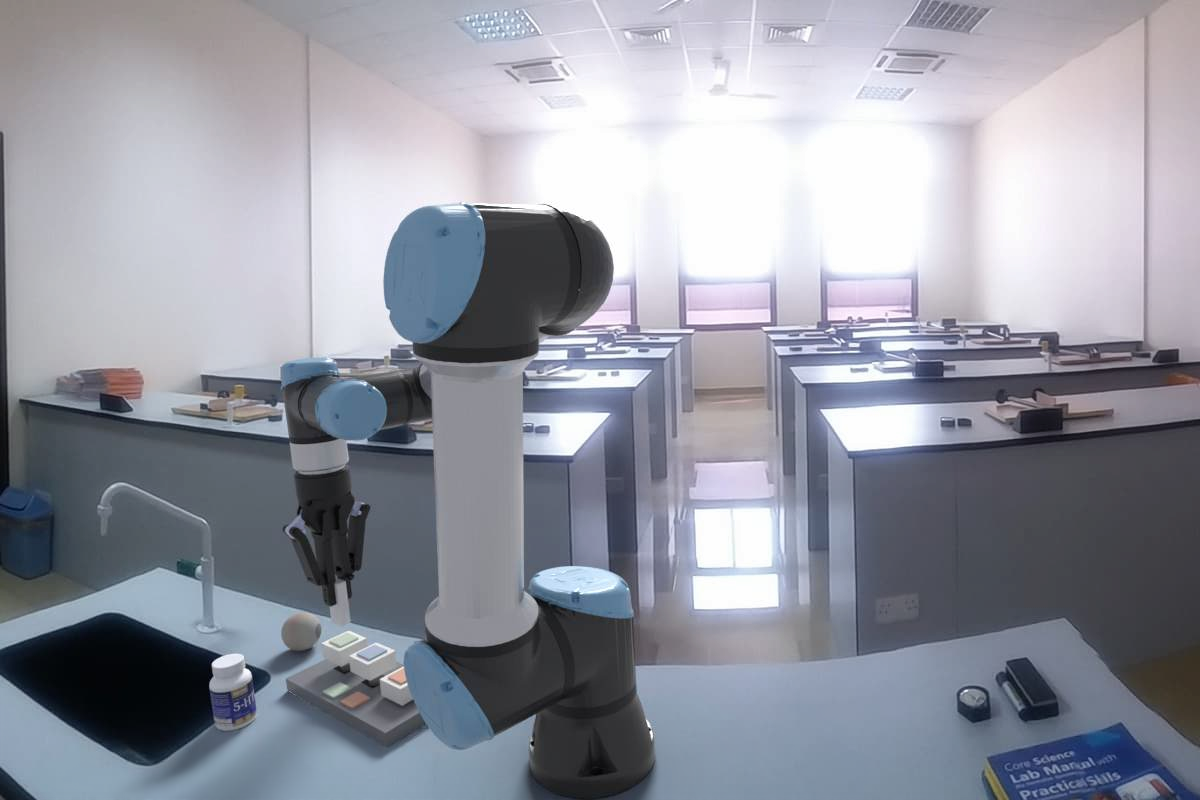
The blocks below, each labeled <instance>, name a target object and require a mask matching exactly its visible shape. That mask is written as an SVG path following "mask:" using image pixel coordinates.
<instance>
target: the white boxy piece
mask: <svg viewBox="0 0 1200 800" xmlns="http://www.w3.org/2000/svg"><path fill="white" fill-rule="evenodd" d="M367 646H368V647H366V648H364V649H362V650H360V651H358V652H356V653H354V654H352V655H350V656H349V662H350V670H351V672H353V673H355V674H357V675H359V676H361V677H363V678H365V679H367V680H368V684H369V685H371V686H375V685H379V684H380V679H381V678H383V677H382V674H384V673H386V672H388V671H389V670H391V669H393V668H395V667H397V662H398V661H397V660H398V658H397V652H396V650H395V649H393V648H390V647H388V646H385V645H383V644H381V643H378V642H374V643H373V644H370V645H367Z"/></svg>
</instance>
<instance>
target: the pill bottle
mask: <svg viewBox="0 0 1200 800" xmlns="http://www.w3.org/2000/svg"><path fill="white" fill-rule="evenodd" d="M211 670H212V675H213V676H212V678H211V679H210V681H209V686H208V687H209V693H210V701H211V707H212V713H213V720H214V725H215V728H217V730H220V731H225V732H229V731H234V730H235V731H236V730H239V729H241V728H244V727H246V726H248V725H249V724H251V723H252V722H253V721H254V720H256V718H257V715H258V710H257V702H256V696H255V695H256V694H255V690H254V683H253V682H254V681H253V674H252V672H251V671H250V670H249V669H248V668H246V661H245V657H244V655H243V654H241V653H229V654H226V655H225V654H224V655H222V656H220V657H218V658H216V659H214V660H213V662H212V663H211Z"/></svg>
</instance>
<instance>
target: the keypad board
mask: <svg viewBox="0 0 1200 800" xmlns="http://www.w3.org/2000/svg"><path fill="white" fill-rule="evenodd" d="M403 666H404V663H403V664H402V663H400V662H398V661H397V667H395V668H393V669H391V670H389V671H388V672H386V673H384V674H382V677H385V676H387V675H388V674H390V673H392V672H394V671H396V670H398V669H400V668H402V667H403ZM285 682H286V691H287V690H288V691H290V692H292V693H293V694H295V695H297V696H298V697H297V696H296V697H297V698H299V697H300V698H302V699H303V700H302V699H301V700H302V701H304V700H305V701H304V702H306V701H307V702H306V703H308V702H309V703H310V704H309V703H308V704H309V705H311V704H312V706H313V707H315V708H317V709H318V710H320V711H322V712H323V713H325V714H327V715H329V716H331V717H333V718H334V719H336V720H338V721H340V722H342V723H344V724H345V725H347V726H349V727H350V728H352V729H354V730H356V731H357V732H360V733H361V734H363V735H364V736H366V737H368V738H369V739H371V740H373V741H375V742H377V743H379V744H381V745H382V746H384V747H385V748H389V747H390V746H392V745H393V744H395V743H396V742H398V741H399V740H401V739H403V738H404V737H406V736H408V735H410V734H412V733H414V731H416V730H418V729H420V728H421V727H422V726H424V725H427V724H426V723H425V721H424V719H423V718H422V716H421V714H420V712H419V710H418V708H417V706H416V704H415V702H414V700H412V701H410V702H408V703H406V704H405V705H403V706H402V705H400V704H398V703H396V702H394V701H392V700H390V699H388V698H386V697H384V696H382V695H381V687H380V684H379V685H375V686H371V685H369V684H368V680H367V679H365V678H363V677H361V676H359V675H357V674H355V673H353V672H351V671H347V672H343V671H341V670H340V666H338V665H336V664H334V663H332V662H330V661H328V660H326V659H323V660H321V661H319V662H317V663H316V664H313V665H310V666H309V667H307V668H305V669H302V670H301V671H299V672H296V673H294V674H292V675H290V676H287V677H286V678H285ZM288 691H287V692H288ZM290 692H289V693H290ZM292 693H291V694H292ZM293 694H292V695H293ZM295 695H294V696H295ZM300 698H299V699H300Z"/></svg>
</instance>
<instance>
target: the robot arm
mask: <svg viewBox="0 0 1200 800" xmlns="http://www.w3.org/2000/svg"><path fill="white" fill-rule="evenodd" d="M385 255H386V256H385V261H384V268H383V269H384V270H383V280H382V282H383V286H382V287H383V298H384V299H383V300H384V302H385V303H384V304H385V307H386V309H387V310H389V315H388V318H389V321H390V323H391V326H392V327H393V329H394V330H395V332H396V333H397V335H399V336H400V337H401V338H403V339H404V340H406V341H407V342H408V341H409V342H410V343H412V353H413V354H412V355H413V357H414V358H415V359H416V360H417V361H419V362H420V364H419V365H418V366H415V367H412V368H404V369H399V370H391V371H386V372H379V373H378V372H377V373H371V374H365V375H359V376H352V377H341V374H340V372H339V368H338V364H337V360H335V359H334V358H331V357H326V356H325V357H309V358H299V359H293V360H290V361H286V362H284V363H283V364H282V366H281V367H280V381H281V383H280V384H281V386H280V391H281V393H282V397H283V404H284V412H285V417H286V426H287V433H288V440H289V448H290V455H291V463H292V469H294V470H296V471H295V473H294V474H293V479H294V480H293V481H294V486H295V487H294V488H295V494H296V498H297V502H298V506H297V510H296V517H295V519H294V520H293V521H292V522H291V523H290V524H285V525H283V526H282V530H281V531H282V532H283V533H284V535H286V536H287V538H289V540H290V541H291V543H292V546H293V548H294V551H295V553H296V555H297V558H298V560H299V561H298V562H299V563H300V566H301V568H302V570H303V573H304V576H305V577H306V580H307V582H308V583H310V584H313V585H316V586H318V587H321V590H322V597H323V602H324V603H323V604H324V605H326V606H328V607H329V612H330V613H329V614H330V621H331V623H332V624H335V625H336V626H339V627H341V628H342V627H344V626H347V625H350V624H351V623H352V622H351V621H352V620H351V614H350V606H349V600H350V599H352V596H353V592H352V583H351V581H352V580H353V579H355V574H354V573H355V572H358V571H360V570H361V568H362V565H363V552H364V544H365V543H364V542H365V532H366V521H367V519H368V516H369V513H370V510H371V506H370V504H368V503H366V502H360V501H357V500H356V498H355V496H354V495H353V493H352V491H351V490H352V487H353V482H352V477H351V468H350V466H349V465H348V464H347V463H348V462H349V460H350V456H349V450H348V444H347V443H348V442H347V441H363V440H367V439H369V438H371V437H372V436H374V435H375V434H377V433H378V432H379V431H380V430H381V431H382V430H386V429H392V428H396V427H401V426H405V425H410V424H415V423H421V422H426V421H431V420H432V422H431V423H432V440H433V441H432V442H433V444H432V445H433V447H432V448H433V449H432V450H433V470H434V471H433V472H434V474H433V475H434V494H435V496H434V497H435V521H436V524H435V525H436V527H435V528H436V543H437V544H436V548H437V572H438V573H437V575H438V596H437V597H436V598H435V599H434V600H433V601H432V602H431V603H430V604H429V605H428V606H427V609H425V610H426V611H425V613H424V614H425V615H424V629H425V630H424V631H425V634H424V635H425V637H424V639H422V640H421V639H420V640H415V641H414V642H413V643H412V644H411V645H409V646H408V648H407V649H406V650H405V652H404V655H403V665H404V671H405V676H406V680H407V684H408V687H409V690H410V693H411V695H412V698H413V700H414V702H415V704H416V706H417V708H418V710H419V712H420V714H421V716H422V718H423V719H424V721H425V723H426V724H425V725H426V726H427V727H428V729H429V730H430V731H431V732H432V734H433V735H434V736H435V738H437V739H438V740H439V741H440V742H441V743H442V744H443V745H445V746H446V747H448V748H450V749H453V750H456V751H464V750H467V749H469V748H472V747H474V746H477V745H479V744H481V743H484V742H486V741H491V740H493V739H495V737H496V736H498V735H499V734H502V733H503V732H505V731H507V730H509V729H511V728H513V727H514V726H517V725H518V724H521V723H522V722H524V721H525V720H527V719H529V718H532V717H533V716H535V719H534V722H533V726H532V732H531V734H530V737H529V743H528V756H529V758H528V759H529V766H530V770H531V773H532V775H533V777H534V779H536V781H537V782H538V783H539V784H540V785H541V786H542V787H544V788H545V789H547V790H549V791H551V792H553V793H555V794H558V795H561V796H564V797H571V798H575V799H576V798H577V799H596V798H604V797H608V796H612V795H616V794H619V793H621V792H624V791H627V790H629V789H631V788H632V787H634V786H635V785H637V784H639V782H641V781H642V780H643V779H645V777H646V776H647V775H648V774H649V773H650V771H651V769H652V767H653V766H654V763H655V761H656V760H655V759H656V748H655V744H656V743H655V735H654V732H653V731H654V730H653V729H652V725H651V723H650V722H649V720H647V718H646V715H645V711H644V707H643V705H642V703H641V700H640V697H639V694H638V689H637V673H636V672H637V671H636V656H635V655H636V654H635V653H636V651H635V631H634V629H635V625H634V616H635V611H634V609H633V608H632V607H633V606H632V598H631V597H632V596H631V590H630V587H629V585H628V583H627V582H626V580H625V579H623V577H621V576H620V575H618V574H616V573H614V572H612V571H608V570H606V569H602V568H597V567H594V566H593V567H592V566H591V567H590V566H582V565H570V566H569V565H567V566H558V567H557V566H556V567H551V568H547V569H544V570H541V571H538V572H536V573H535V574H534V575H533V576H532V578H531V579H530V581H529V586H528V589H527V590H528V592H529V593H528V592H526V591H525V568H524V567H525V564H524V562H525V559H524V558H525V553H524V552H525V549H524V548H525V546H524V543H525V541H524V539H525V535H524V528H525V526H524V522H525V521H524V519H525V518H524V515H525V514H524V389H523V388H524V386H523V385H524V370H525V369H526V367H528V365H529V364H531V363H532V362H533V361H534V360H535V358H537V357H538V355H539V353H540V344H541V343H543V342H544V341H545V340H547V339H548V338H549V337H552V338H554V337H555V338H557V337H563V336H567V335H568V334H570V333H572V332H573V331H574V330H576V329H577V328H578V327H580V326H581V325H583V324H585V322H587V321H588V320H589V319H590V318H591V317H592V316H594V315H595V314H596V313H597V312H598V311H599V310H600V308H601V307H602V306H603V305H604V304H605V302H606V300H607V298H608V296H609V294H610V291H611V288H612V284H613V282H614V269H615V266H614V258H613V254H612V251H611V247H610V245H609V242H608V240H607V239H606V237H605V235H604V232H602V230H601V229H600V228H599V227H598V226H597V224H596V223H594V221H593V220H591V219H590V218H589V217H587V216H586V215H585V214H583V213H582V212H580V211H578V210H575V209H573V208H571V207H569V206H565V205H561V204H555V203H539V204H526V203H525V204H519V203H517V204H515V203H510V204H509V203H507V204H506V203H505V204H504V203H467V202H463V201H461V202H458V203H457V202H455V203H445V204H434V205H426V206H422V207H419V208H417V209H415V210H413V211H411V212H410V213H408V215H406V216H405V217H404V218H403V219H402V220H401V221H400V223H399V225H398V227H397V230H395V232H394V233H393V235H392V237H391V240H390V242H389V245H388V249H387V252H386V254H385ZM305 526H306V527H307V528H308V529H309V530H310V532H311V533H310V534H311V537H312V539H313V542H314V543H313V544H314V550H315V554H314V550H313V547H312V545H311V543H310V541H309V539H308V537H307V535H306V533H307V530H306V528H305Z"/></svg>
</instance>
